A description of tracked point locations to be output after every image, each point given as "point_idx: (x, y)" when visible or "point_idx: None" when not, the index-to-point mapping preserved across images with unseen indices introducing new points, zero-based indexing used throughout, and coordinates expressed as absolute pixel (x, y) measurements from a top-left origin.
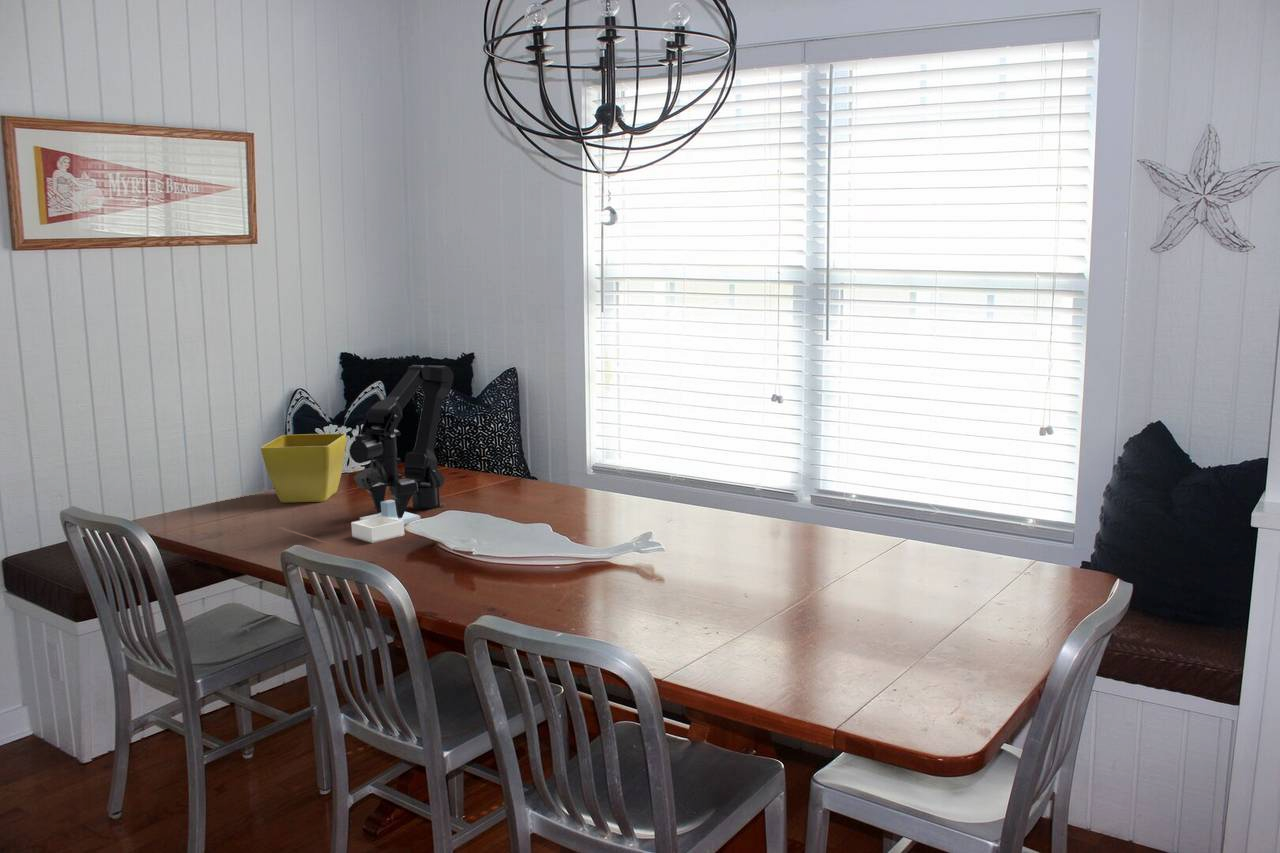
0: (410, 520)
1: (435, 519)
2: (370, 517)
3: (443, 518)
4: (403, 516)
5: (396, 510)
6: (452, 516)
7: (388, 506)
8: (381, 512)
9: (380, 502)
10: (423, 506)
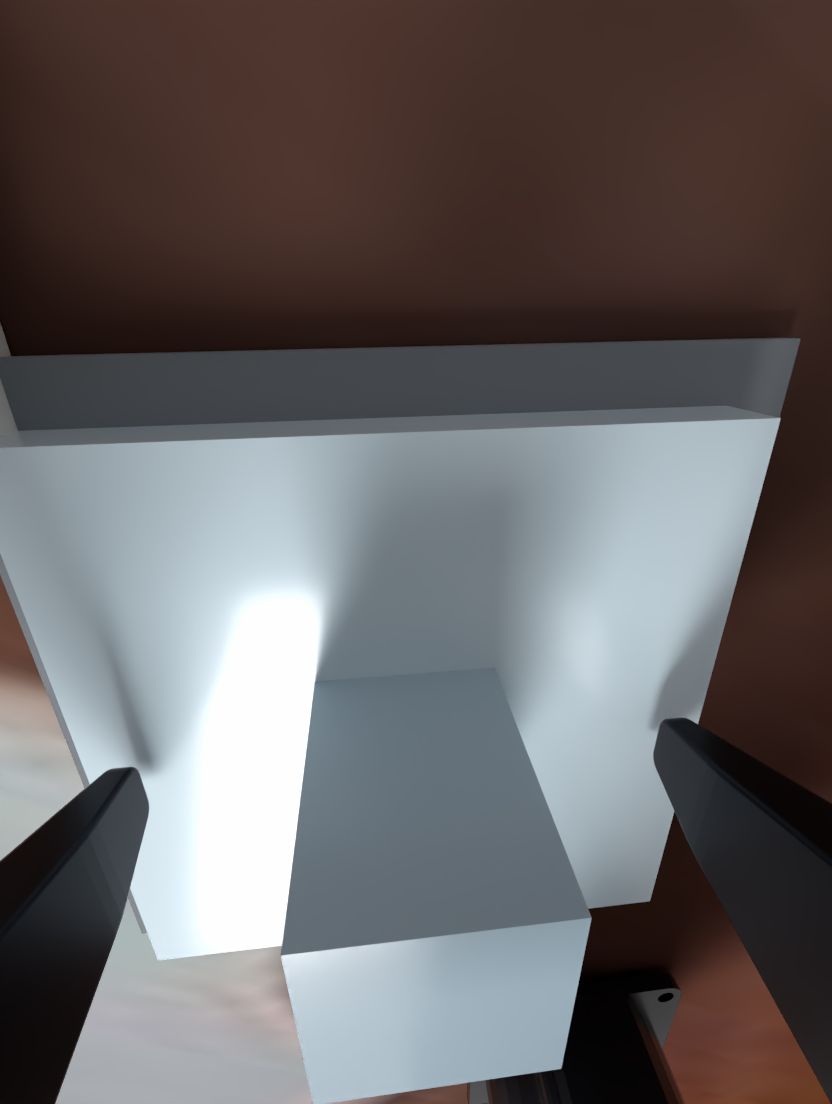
0: None
1: (166, 978)
2: (616, 546)
3: (151, 1019)
4: (267, 844)
5: (41, 876)
6: (164, 1068)
7: (294, 886)
8: (507, 717)
9: (760, 898)
10: None
